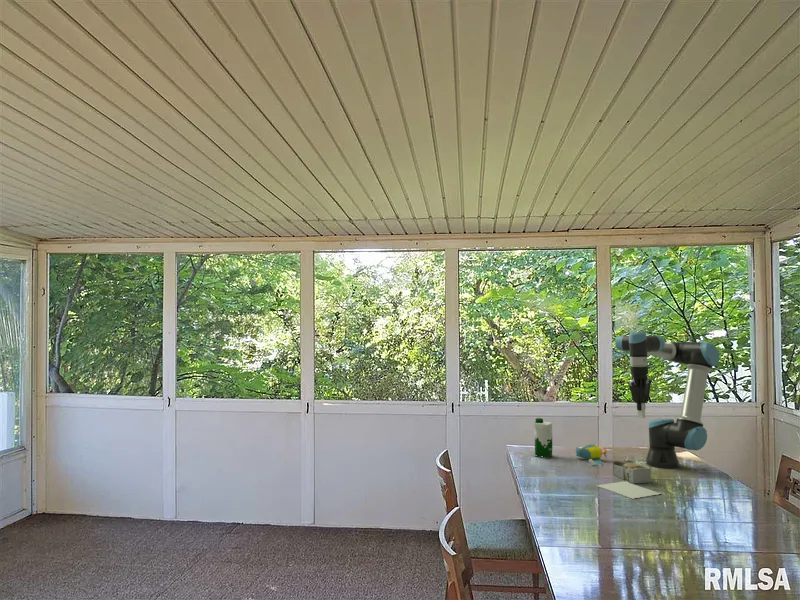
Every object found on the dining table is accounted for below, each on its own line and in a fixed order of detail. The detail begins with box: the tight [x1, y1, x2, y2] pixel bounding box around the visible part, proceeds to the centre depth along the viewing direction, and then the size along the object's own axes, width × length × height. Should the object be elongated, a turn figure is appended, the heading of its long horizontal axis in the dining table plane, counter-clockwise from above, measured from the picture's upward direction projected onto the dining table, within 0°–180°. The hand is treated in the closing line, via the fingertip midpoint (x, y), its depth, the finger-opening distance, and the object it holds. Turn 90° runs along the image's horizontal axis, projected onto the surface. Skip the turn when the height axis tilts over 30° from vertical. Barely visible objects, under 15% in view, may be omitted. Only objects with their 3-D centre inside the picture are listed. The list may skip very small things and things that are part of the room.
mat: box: [596, 480, 662, 500], centre depth 231 cm, size 16×20×1 cm
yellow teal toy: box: [575, 443, 608, 466], centre depth 286 cm, size 28×9×15 cm
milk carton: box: [533, 417, 553, 458], centre depth 295 cm, size 9×9×20 cm
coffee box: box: [612, 460, 652, 485], centre depth 249 cm, size 9×6×16 cm
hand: (641, 417), depth 247 cm, fingers closed
